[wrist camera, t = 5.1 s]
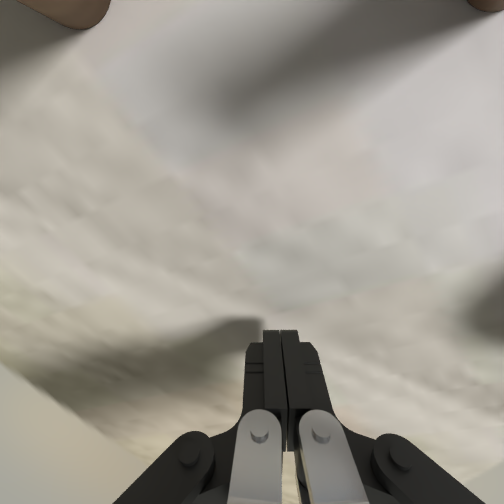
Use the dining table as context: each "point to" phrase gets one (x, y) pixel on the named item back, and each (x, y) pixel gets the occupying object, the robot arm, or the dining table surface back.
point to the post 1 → (71, 11)
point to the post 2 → (488, 5)
